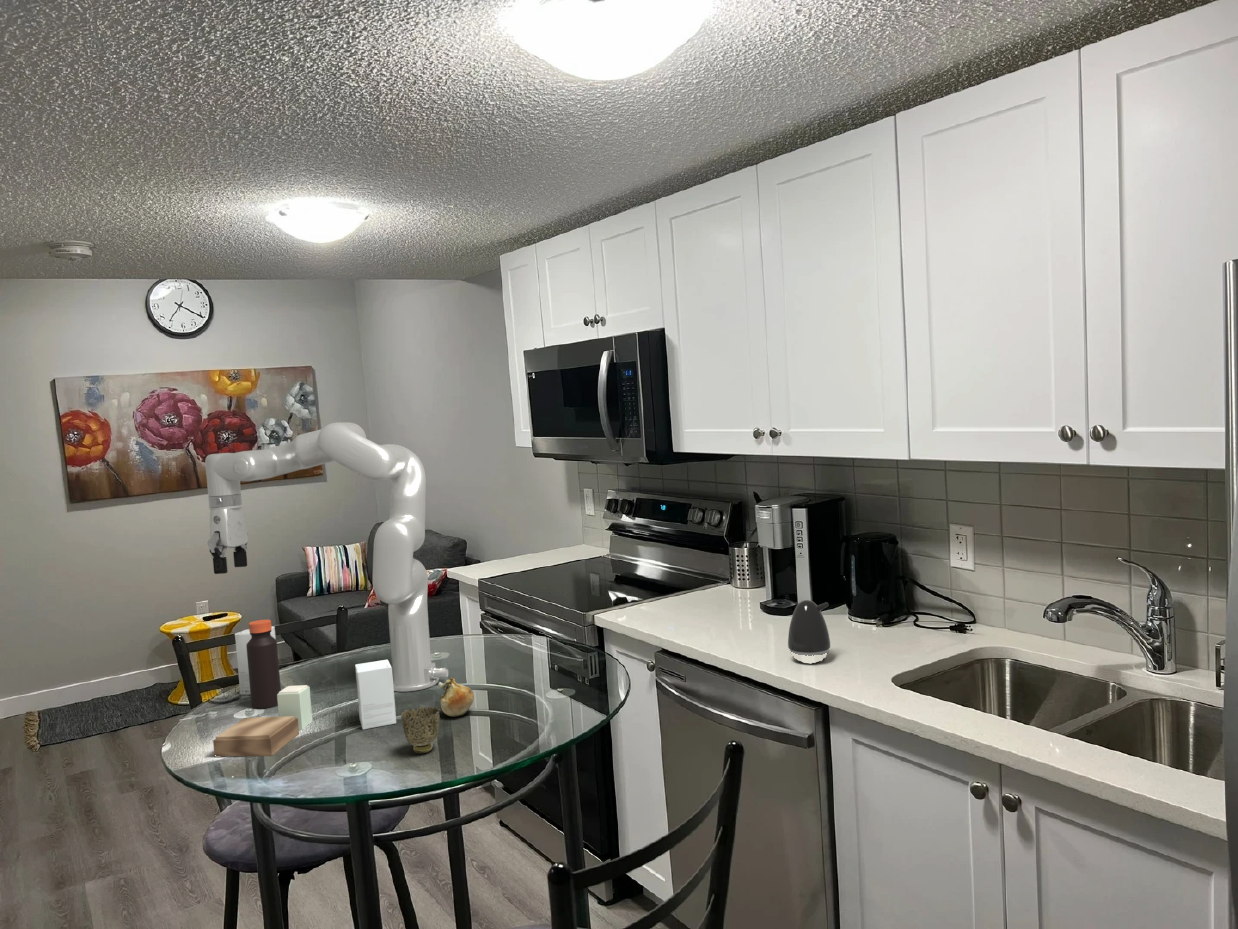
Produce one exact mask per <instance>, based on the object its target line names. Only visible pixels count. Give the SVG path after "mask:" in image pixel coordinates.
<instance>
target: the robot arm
mask: <svg viewBox="0 0 1238 929" xmlns="http://www.w3.org/2000/svg"><path fill="white" fill-rule="evenodd" d="M204 461H205V474H206V475H205V476H206V487H207V495H208V497H207V498H208V507H209V508H208V509H209V510H210V511H209V513H210V514H209V536H210V539H209V540H208V541H207V546H208V548H209V553H210V554H211V555H210V556H211V558H212V564H213V567H212V568H213V573H214V574H215V575H219V574H220V575H222V574H227V573H228V561H227V560H228V559H227V556H225V555H226V552H227V549H233V550H234V551H233V552H232V554H233V563H234V564H233V565H234V568H243V567H244V568H246V567H247V566H248V558H247V550H248V548H247V544H248V542H249V536H248V535H249V533H248V528H247V521H246V516H245V512H244V508H243V501H242V489H241V482H253V481H259V480H266V479H272V478H275V477H278V476H282V475H286V474H289V473H293V472H296V471H300V470H308V469H310V468H314V467H318V466H321V465H324V464H328V463H332V462H336V463H337V464H340V465H341V466H343V467H345V468H347V469H349V470H350V471H352V472H353V473H356V474H358V475H360V476H362V477H363V478H366V479H368V480H370V481H373V482H374V481H375V482H379V481H380V482H381V481H385V480H391V483H392V487H391V492H390V496H389V497H390V498H389V499H390V501H389V503H390V504H389V506H390V507H389V518H388V520H385V521H384V522H383V523H382V524H380V525H379V527H378V528H377V530H376V532H375V536H374V540H373V553H372V556H373V557H372V587H373V591H374V594H375V596H376V597H377V598H378V599H379V600H380V601H381V602H383V603H385V604H388V607H387V608H388V613H387V614H388V628H389V642H390V644H389V645H390V654H391V667H392V675H393V688H394V692H414V691H422V690H424V689H428V688H432V687H434V686H436V685H438V684H439V682H440V678H448V677H449V669H448V668H446V667H436V662H432V655H431V654H432V653H431V642H430V641H431V638H430V628H429V627H430V626H429V611H428V592H429V591H428V589H429V588H428V586H429V579H428V573H427V570H426V568H425V566H424V565H423V563H422V562H421V561H420V560H418V559H416V558H414V552H417V550H419V549H420V548H421V547H422V545H423V544H424V543H425V538H426V532H425V531H426V496H427V493H426V492H427V476H426V471H425V467H424V464H423V462H422V460H421V459H420V458H419V456H418V455H416V454H415V453H414V452H413V451H412V450H410V449H409V448H407V447H405V446H403V445H400V444H393V443H387V444H386V443H385V444H379V443H378V444H377V443H376V442H374V441H372V440H370V439H367V435H366V433H365V430H364V429H363V428H362V427H361V426H360V425H359V424H357V423H355V422H349V421H347V422H345V421H344V422H342V421H341V422H339V421H338V422H331V423H328V424H326V425H325V426H324V427H323V428H320V429H317V430H313V431H309V432H306V433H301V434H298V435H296V436H295V438H294V439H293V440H292V441H290V442H286V443H284V444H280V445H276V446H272V447H269V448H264V449H254V450H253V449H252V450H243V451H239V452H234V453H233V452H222V453H212V454H208V455H207V456H206V457H205V460H204Z"/></svg>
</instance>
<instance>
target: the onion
mask: <svg viewBox="0 0 1238 929" xmlns="http://www.w3.org/2000/svg"><path fill="white" fill-rule="evenodd" d="M437 686H438V688H439V689H440V690H442V691H444V692H443V693H442V694H441V696H440V698H439V699H440V700H439V702H440V707H441V710H442V712H443V713H444V714H445V715H447V716H448V717H453V718H455V717H459V716H464V715H465V714H466V713H467V712H468V711H469V710H470V708H471V707H472V705H473V704H474V700H475V696H474V692H473V690H472V689H471V688H470V687H468V686H465V685H464V684H460V683H457V682H456V679H455V678H454V677H450V678H449V679H446V681H445V682H441V681H439V682H438V683H437Z"/></svg>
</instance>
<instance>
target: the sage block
mask: <svg viewBox="0 0 1238 929" xmlns="http://www.w3.org/2000/svg"><path fill="white" fill-rule="evenodd" d="M310 688H311V687H310V686H309V685H307V684H305V685H304V684H303V685H287V686H286V687H284V688H283V689H281V691H280V692H279V693H278V694H277V700H278V705H277V708H278V709H277V711H278V717H286V716H295V718H298V725H299V731H303V730H304V729H306V728H307V727H308V726H309V725H311V724H312V723H313V712H312V702H311V701H312V700H311V690H310ZM311 722H312V723H311ZM310 723H311V724H310ZM308 724H309V725H308ZM307 725H308V726H307ZM306 726H307V727H306ZM305 727H306V728H305Z"/></svg>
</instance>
